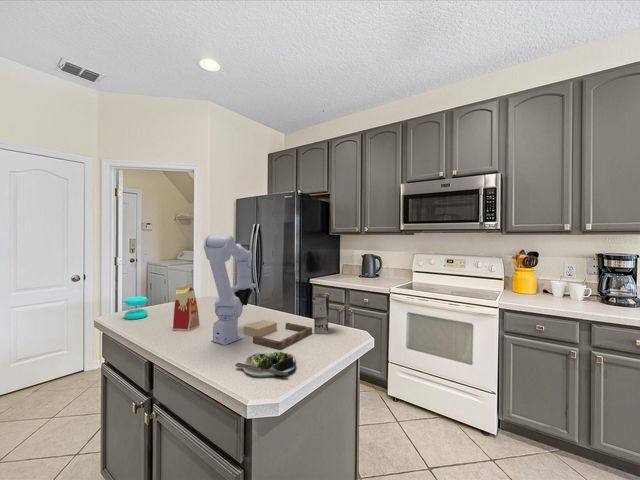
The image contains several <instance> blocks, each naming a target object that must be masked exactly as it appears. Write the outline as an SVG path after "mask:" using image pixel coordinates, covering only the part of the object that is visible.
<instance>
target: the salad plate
mask: <svg viewBox="0 0 640 480" xmlns="http://www.w3.org/2000/svg"><path fill="white" fill-rule="evenodd" d="M274 364H275V365H274ZM235 367H237V368H239V369H242V370H243V371H244V372H245V374H248V375H250V376H253V377H258V378H262V377H263V378H265V377H267V378H270V377H271V378H273V377H274V378H276V376H282V377H285V375H286V376H289V375H291V374H292V373H294V372H295V370H296V367H297V366H296V356H295V355H294V354H292V353H289V352H284V351H277V352H276V351H275V352H259V353H258V352H257V353H254V354H251V355H249V356H248V357H247V358H246V360H245V363H242V362H237V363H235ZM290 373H291V374H290ZM288 374H289V375H288Z"/></svg>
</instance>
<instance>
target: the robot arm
mask: <svg viewBox="0 0 640 480" xmlns="http://www.w3.org/2000/svg"><path fill="white" fill-rule="evenodd" d="M203 249H204V253H205V256H206V257H205V258H206V259H207V261H209V265H210V269H211V272H212V276H213V280H214V284H215V287H216V290H217V294H218V297H217V298H216V299H215V301H214V305H213V306H214V314H215V316H216V317H217V319H218V320H217V321H215V322H213V326H212V339H211V342H213V343H216V344H221V345H223V346H226V345H229V344H230V343H231V344H232V343H233V342H237V341H239V340H241V339H243V336H239V334H238V330H239V329H238V328H239V325H238V324H239V318H240V317H241V316H242V314H243V310H244V309H243V307H244V306H248V303H249V299H250V296H251V294H252V293H253V289H256V287H257V284H256V283H251V282H250V281H251V278H250V277H251V266H252V260H253V253H252V251H250V250H249V249H246V248H245V247H243V246H242V244H241V243H235V237H233V235H212V234H211V235H210V234H208V235H207V236H206V237H205V239H204V242H203ZM231 257H233V258H234V260H235V263H236V284H235V286H232V285H231V283H230V277H229V275H228V269H227V265H226V263H227V262H228V261H229V260H231ZM231 286H232V287H231ZM233 293H234V294H233Z"/></svg>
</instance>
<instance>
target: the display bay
mask: <svg viewBox="0 0 640 480" xmlns="http://www.w3.org/2000/svg"><path fill="white" fill-rule="evenodd" d="M284 326H285V330H289V331H294V332H296V333H294V334H292V335H290V336H288V337H285V338H283V339H281V340H280V341H278V340H274V339H270V338H266V337H264V336H262V337H259V336H253V337H252V343H253V344H257V345H260V346H263V347H267V348H271V349H273V350H274V349H275V350H279V351H281V350H283V349H285V348H287V347H288V346H290V345H293V344H294V343H296V342H298V341H300V340H302V339H304V338H306V337H307V336H309V335H312V333H313V327H310V326H305V325H300V324H297V323H296V324H295V323H291V322H285V325H284Z"/></svg>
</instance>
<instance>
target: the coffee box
mask: <svg viewBox="0 0 640 480" xmlns="http://www.w3.org/2000/svg"><path fill="white" fill-rule="evenodd" d="M329 305H330V297H329V293H315V294H314V309H313V310H314V312H313V313H314V315H313V318H314V319H313V320H314V321H313V326H314V327H313V334H318V335H319V334H320V335H323V334H324V335H328V334H329V316H330V315H329V311H330V309H329V307H330V306H329Z"/></svg>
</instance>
